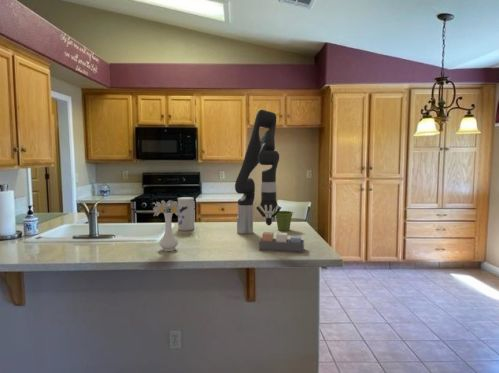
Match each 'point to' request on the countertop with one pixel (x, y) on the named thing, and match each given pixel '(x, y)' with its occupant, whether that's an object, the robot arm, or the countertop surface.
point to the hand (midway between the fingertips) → (268, 225)
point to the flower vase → (167, 223)
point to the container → (186, 213)
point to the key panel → (281, 246)
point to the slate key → (295, 239)
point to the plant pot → (284, 220)
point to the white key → (281, 237)
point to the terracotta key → (268, 236)
